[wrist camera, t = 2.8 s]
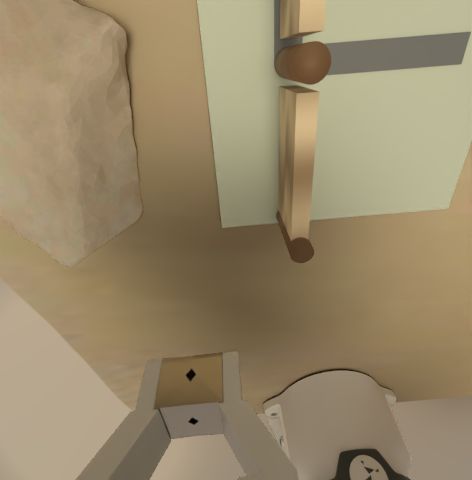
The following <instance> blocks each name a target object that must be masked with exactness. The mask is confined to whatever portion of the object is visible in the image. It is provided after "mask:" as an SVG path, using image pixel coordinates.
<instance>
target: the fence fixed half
mask: <svg viewBox="0 0 472 480" xmlns="http://www.w3.org/2000/svg"><path fill="white" fill-rule="evenodd" d="M325 10H326V0H280V39H291V38H300V37H304V36H307V35H311V34H314V33H317V32H321V31H324V23H325ZM330 66H331V54H330V51H329V49H328V47H327V46H326V45H325V44H323V43H322V42H319V41H311V42H307V43H302V44H298V45H293V46H288V47H285V48H283V49H281V50H280V51H279V52H278V54H277V55H276V58H275V62H274V68H275V71H276V73H277V74H278V75H279V76H280V77H282V78H285V79H288V80H292V81H296V82H300V83H303V84H308V85H313V84H316V83H318V82H320V81H321V80H323V79H324V78H325V76H326V75H327V73H328V72H329V69H330Z"/></svg>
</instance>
